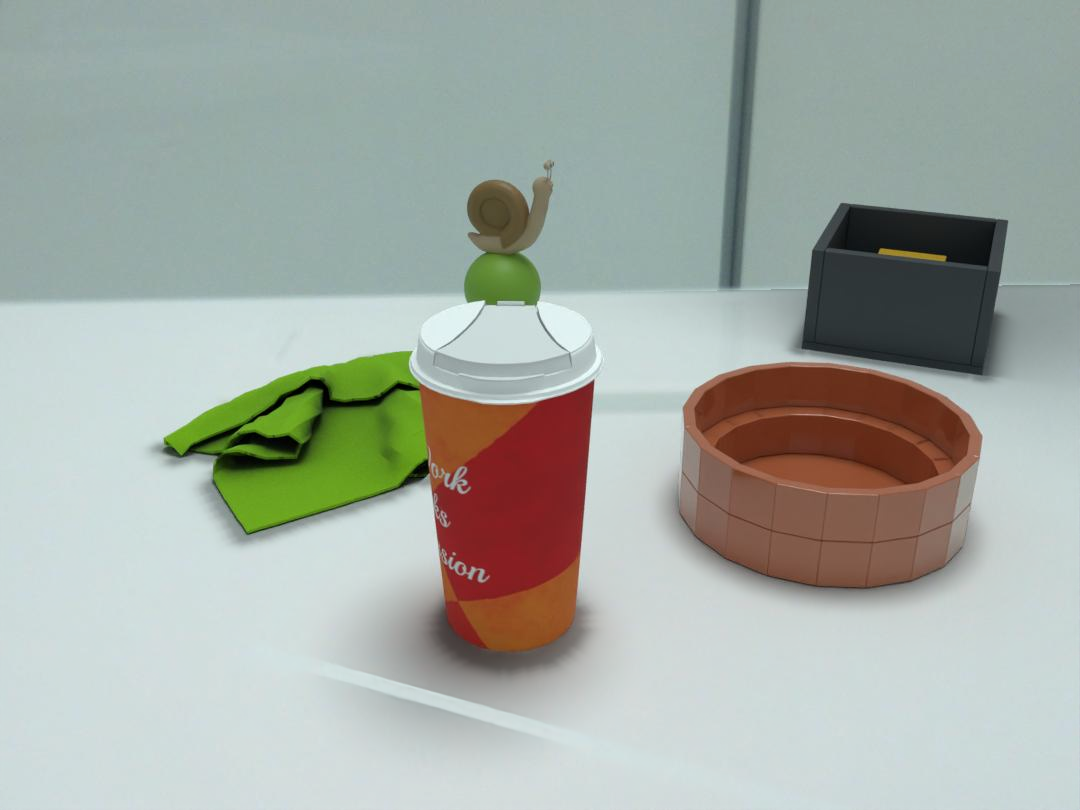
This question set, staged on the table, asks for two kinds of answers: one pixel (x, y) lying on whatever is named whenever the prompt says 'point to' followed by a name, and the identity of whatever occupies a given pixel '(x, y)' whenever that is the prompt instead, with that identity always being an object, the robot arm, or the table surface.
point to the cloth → (314, 439)
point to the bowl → (827, 473)
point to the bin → (905, 287)
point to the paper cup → (508, 464)
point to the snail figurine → (505, 241)
